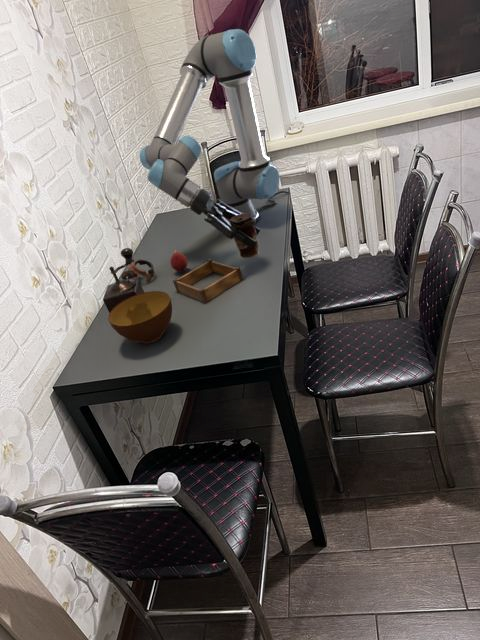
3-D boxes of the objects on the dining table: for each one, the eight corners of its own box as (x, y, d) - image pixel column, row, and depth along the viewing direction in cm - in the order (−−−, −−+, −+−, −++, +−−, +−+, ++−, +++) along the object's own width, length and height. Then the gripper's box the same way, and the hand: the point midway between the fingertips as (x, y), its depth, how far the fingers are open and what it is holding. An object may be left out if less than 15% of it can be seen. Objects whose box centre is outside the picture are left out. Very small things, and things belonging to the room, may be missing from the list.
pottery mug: (141, 273, 175) (145, 255, 170) (157, 288, 172) (161, 269, 166) (114, 281, 167) (116, 262, 161) (130, 297, 163) (133, 277, 158)
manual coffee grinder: (148, 316, 145) (126, 264, 135) (114, 325, 146) (89, 274, 135) (152, 293, 158) (132, 244, 148) (120, 301, 158) (98, 253, 148)
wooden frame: (213, 270, 162) (210, 258, 160) (243, 279, 152) (239, 267, 149) (176, 291, 155) (172, 280, 153) (205, 303, 144) (201, 291, 142)
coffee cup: (247, 263, 151) (237, 225, 143) (232, 257, 157) (221, 221, 149) (267, 251, 155) (258, 213, 147) (251, 246, 160) (242, 210, 153)
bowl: (170, 353, 126) (157, 322, 120) (112, 358, 130) (97, 328, 125) (189, 317, 139) (178, 288, 134) (136, 322, 144) (123, 294, 138)
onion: (187, 274, 164) (179, 254, 160) (172, 276, 166) (164, 256, 161) (192, 267, 169) (185, 246, 164) (177, 268, 170) (170, 248, 166)
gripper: (199, 196, 157) (255, 234, 162) (180, 220, 141) (243, 262, 146) (209, 177, 153) (267, 217, 158) (191, 200, 136) (256, 244, 141)
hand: (255, 238), depth 152 cm, fingers closed on coffee cup, 8 cm apart
